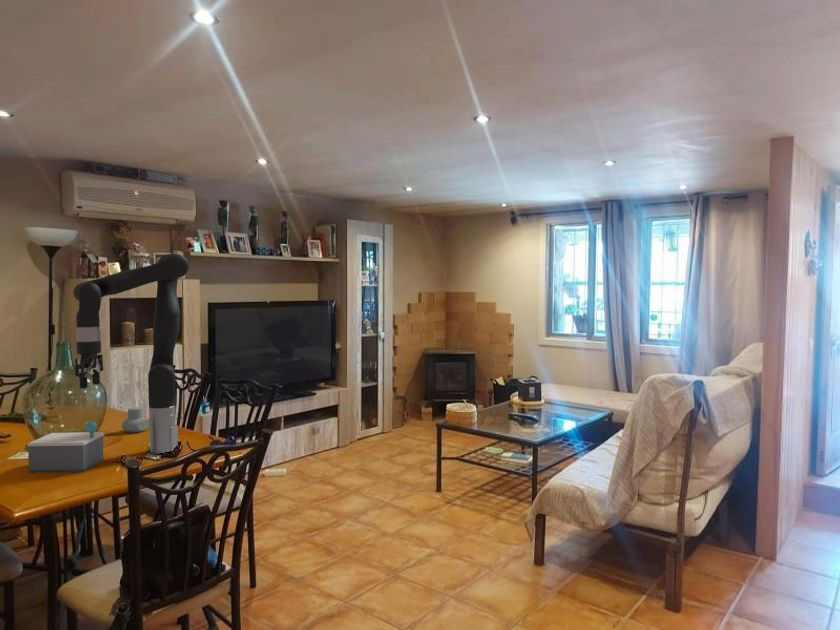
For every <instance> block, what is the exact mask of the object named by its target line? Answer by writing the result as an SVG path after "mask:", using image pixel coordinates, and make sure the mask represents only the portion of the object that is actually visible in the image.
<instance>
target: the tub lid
mask: <svg viewBox="0 0 840 630" xmlns="http://www.w3.org/2000/svg"><path fill="white" fill-rule="evenodd" d="M97 428H98V424H97V423H96V422H95V421H88V422H87V423H86V424H85V430H86V431H87V432H86V431H85V432H51V433H48V434H45V435H43V436H42V437H39V438H37V439H34V440H32V441H30V442H28V443H27V447H28V446H84V445H86V444H88V443H90V442H92V441H94V440H96V439H97V438H99V437H101V436H103V437H104V436H105V431H103V432H101V431H99V432H98V431H97V432H95V431H96V430H97Z"/></svg>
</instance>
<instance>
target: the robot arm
mask: <svg viewBox="0 0 840 630" xmlns="http://www.w3.org/2000/svg"><path fill="white" fill-rule="evenodd" d="M189 270H190V264H189V260H188V259H187V258H186V257H185V256H184V255H181V254H178V253H166V254H163V255H162V256H161V257H160V258H159V259H158V261H157V263H154V264H151V265H146V266H142V267H137V268H131V269H128V270H124V271H123V270H122V271H119V272H116V273H115V272H114V273H112V274H109V275H106V276H103V277H101V278H96V279H91V280H86V281H83V282H80V283H78V284H76V286H75V287H74V289H73V292H72V294H73V297H74V298H75V299H76V300H77V301H78V311H77V312H76V317H75V318H76V320H75V321H76V331H75V339H76V341H75V343H76V354H78V355H80V358H75V359H74V360H75V361H74V367H75V369H74V374H75V375H74V376H75V377H78V378H79V389H87V388H88V375H89V373H90V372H91V373H92V377H91V379H92V384H93V385H95V386H96V385H100V384H101V379H100V378H101V376H100V374H101V373H102V372H103V371H104V363H103V362H104V361H103V359H104V358H103V354H100V353H102V336H101V334H102V333H101V328H100V327H101V326H100V325H101V324H100V322H101V321H100V311H101V303H102V298H104V297H107V296H114V295H118V294H120V293H124V292H126V291H130V290H133V289H135V288H139V287H142V286H145V285H147V284H152V283H155V282H156V283H157V284H156V286H157V288H156V294H155V295H156V297H155V306H154V313H153V320H152V321H153V322H152V323H153V325H152V341H153V342H152V347H153V351H152V357H151V361H150V362H151V363H150V367H149V370H148V375H147V384H148V386H147V387H148V391H147V392H148V420H149V426H148V430H149V436H148V437H149V453H150V454H153V455H159V454H160V453H163V454H166V453H165V452H168V451H173V450H174V448H175V447H176V446H177V445H178V446H179V444H178V443H179V436H178V434H179V432H178V431H179V430H178V429H179V428H178V424H177V423H176V374H175V369H174V352H175V348H176V344H177V340H178V336H179V331H180V325H181V324H180V321H181V308H180V304H179V299H178V294H177V293H178V290H177V288H178V281H179V278H180V279H181V278H183V277H184V276H186V274H188V271H189ZM160 455H161V454H160Z"/></svg>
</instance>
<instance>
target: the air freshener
mask: <svg viewBox="0 0 840 630" xmlns="http://www.w3.org/2000/svg"><path fill="white" fill-rule="evenodd" d="M121 427H122V429H123V430H124V431H125V432H128V433H142V432H143V431H145V430H147V429H149V418H147V417H144V408H143V407H142V406H138V407H137V406H136V407H129V408H128V409H127V418H126V419H125V420H124V421H122V423H121Z"/></svg>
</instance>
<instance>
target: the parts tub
mask: <svg viewBox="0 0 840 630" xmlns="http://www.w3.org/2000/svg"><path fill="white" fill-rule="evenodd" d="M27 452H28V453H27V454H28V474H30V473H31V474H33V473H34V474H38V473H37V472H47V473H84V472H86V471H88V470H90V469H91V468H93V467H95V466H96V465H97V464H99V463H101V462H103V461H104V456H105V455H104V435H103V436H101V437H99V438H97V439H96V440H94V441H92V442H90V443H88V444H86V445H84V446H28V445H27Z"/></svg>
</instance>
